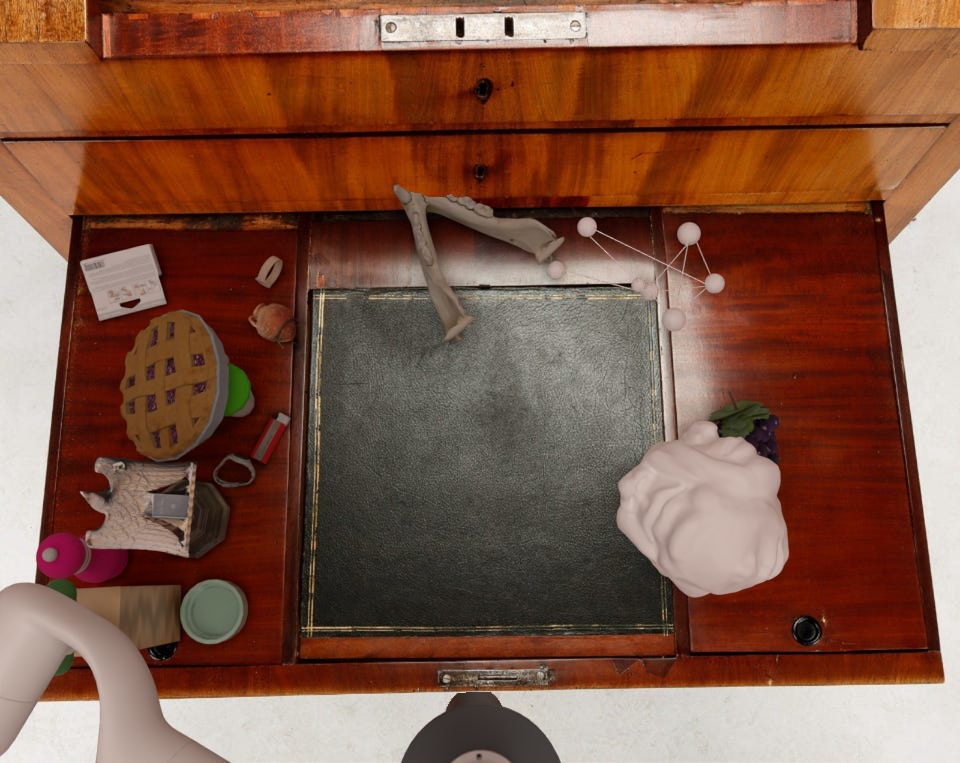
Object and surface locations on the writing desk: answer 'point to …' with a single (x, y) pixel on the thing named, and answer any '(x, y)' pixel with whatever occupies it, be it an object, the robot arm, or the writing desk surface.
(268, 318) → the pot
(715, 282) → the molecule model
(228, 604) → the pale green round dish
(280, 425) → the lighter
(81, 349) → the writing desk surface
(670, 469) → the head sculpture
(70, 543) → the pepper mill
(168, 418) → the pie
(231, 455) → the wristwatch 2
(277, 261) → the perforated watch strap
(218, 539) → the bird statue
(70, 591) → the cucumber
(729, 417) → the fruit
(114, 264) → the ink cartridge box
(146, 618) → the oak stand
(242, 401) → the cup
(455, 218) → the jawbone
